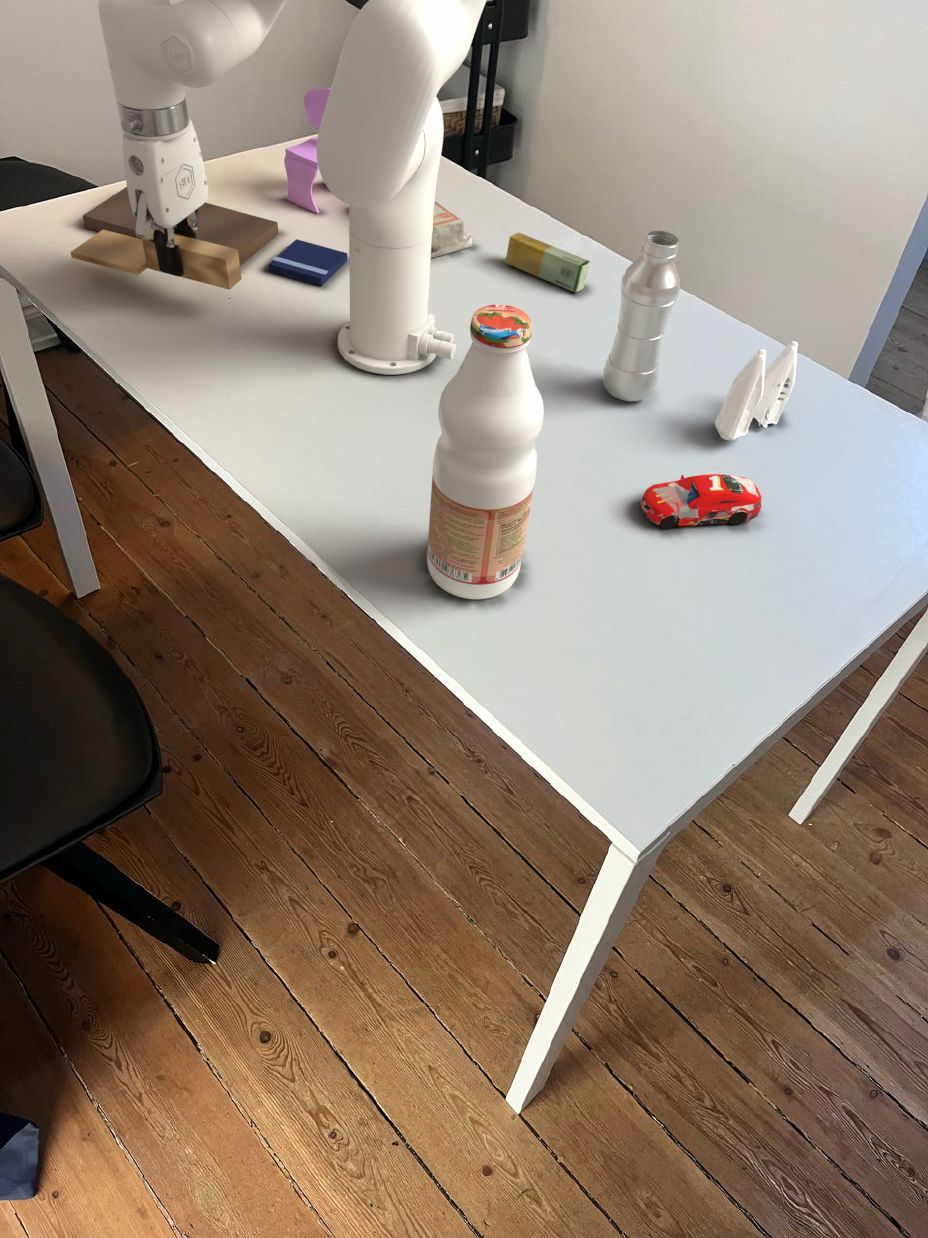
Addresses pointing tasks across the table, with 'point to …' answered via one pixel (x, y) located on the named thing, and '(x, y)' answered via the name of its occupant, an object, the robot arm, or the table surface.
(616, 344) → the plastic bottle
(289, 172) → the toy chair
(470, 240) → the packaged product
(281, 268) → the navy tea towel
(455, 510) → the fruit juice
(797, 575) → the table surface
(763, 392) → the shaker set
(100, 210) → the walnut board
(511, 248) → the medication box
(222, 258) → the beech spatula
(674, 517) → the race car
